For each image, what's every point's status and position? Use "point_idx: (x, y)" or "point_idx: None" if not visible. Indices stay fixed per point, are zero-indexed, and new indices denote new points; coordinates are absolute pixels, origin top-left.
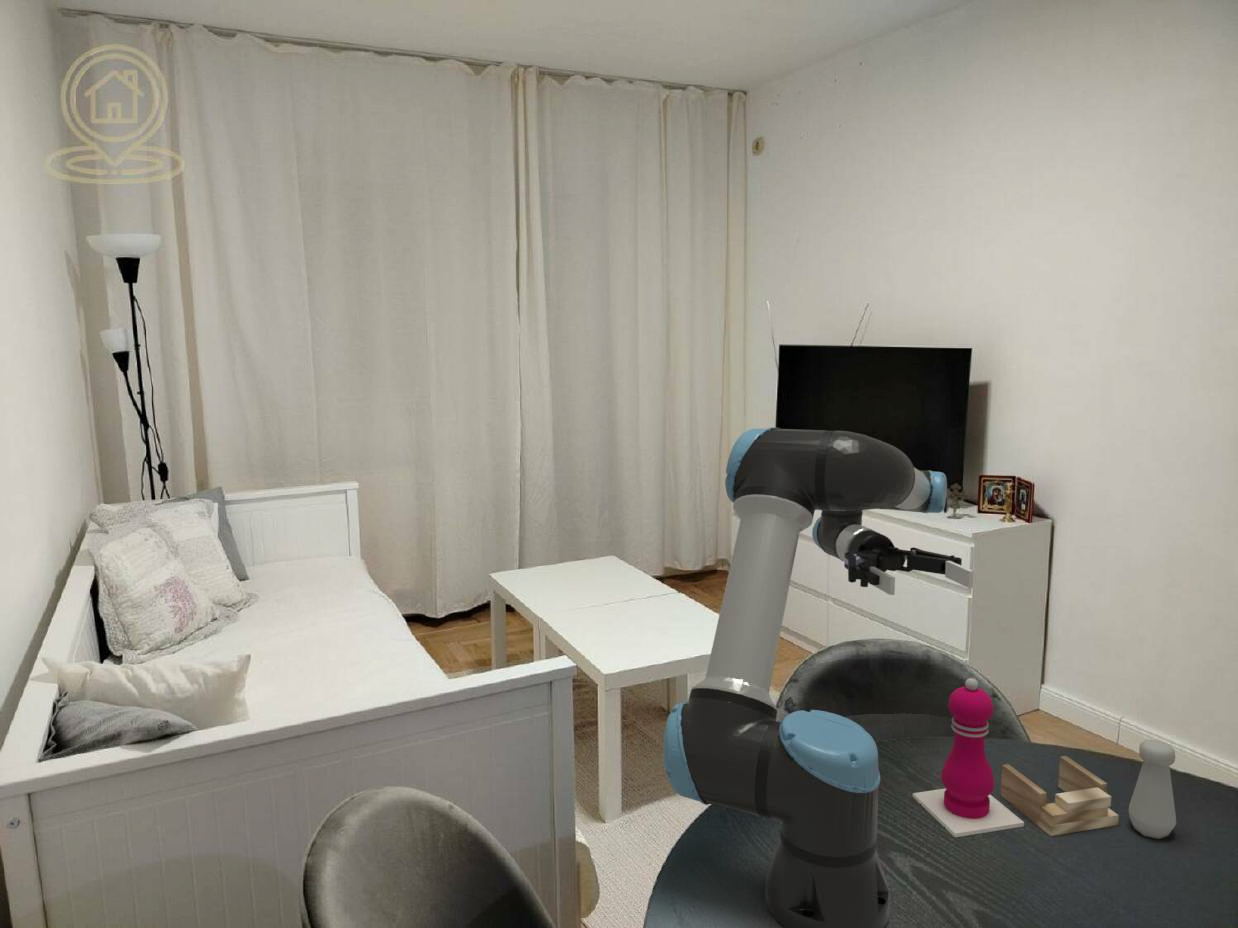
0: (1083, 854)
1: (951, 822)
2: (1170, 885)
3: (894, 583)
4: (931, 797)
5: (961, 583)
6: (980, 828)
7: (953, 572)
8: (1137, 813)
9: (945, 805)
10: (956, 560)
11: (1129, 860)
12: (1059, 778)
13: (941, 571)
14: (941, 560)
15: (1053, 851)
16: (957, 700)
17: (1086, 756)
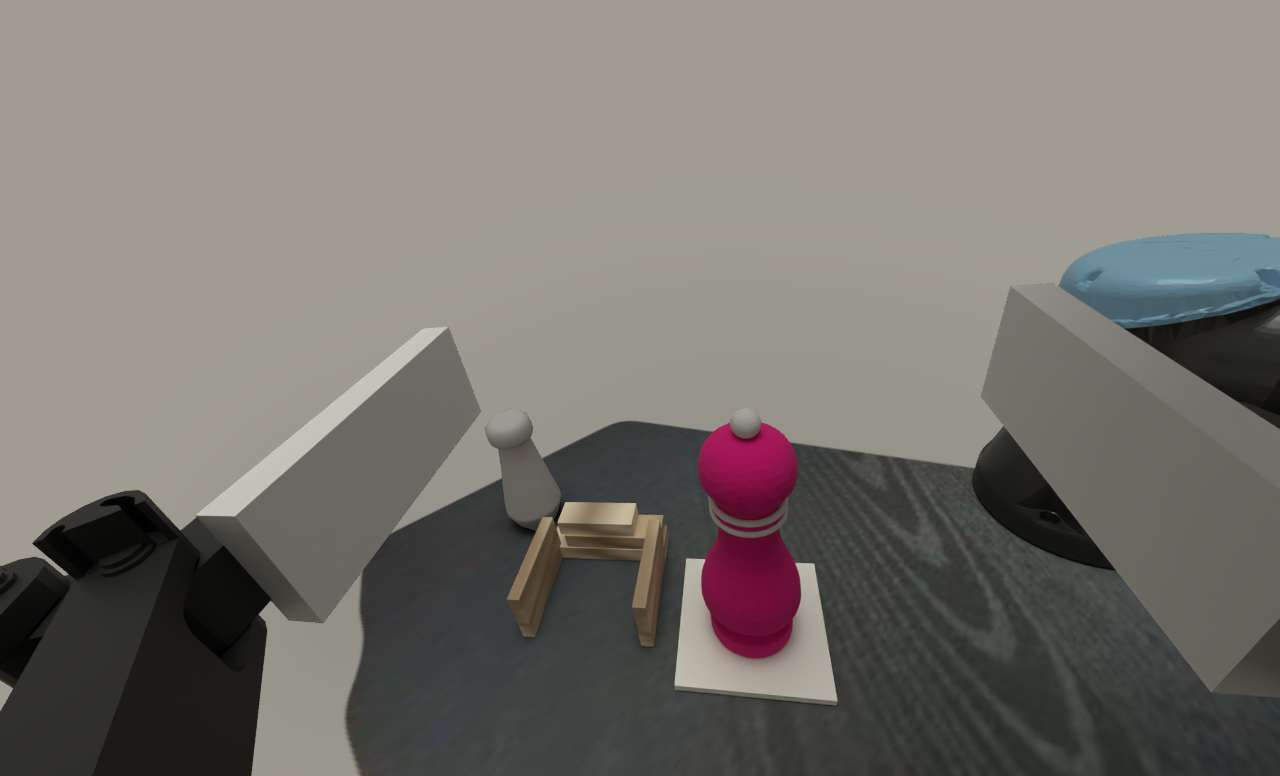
0: (661, 501)
1: (804, 589)
2: (623, 451)
3: (1002, 327)
4: (802, 671)
5: (444, 451)
6: None
7: (368, 478)
8: (556, 493)
9: (792, 626)
10: (51, 580)
11: (621, 483)
12: (530, 625)
13: (241, 678)
14: (162, 602)
15: (692, 512)
16: (789, 442)
17: (367, 717)
